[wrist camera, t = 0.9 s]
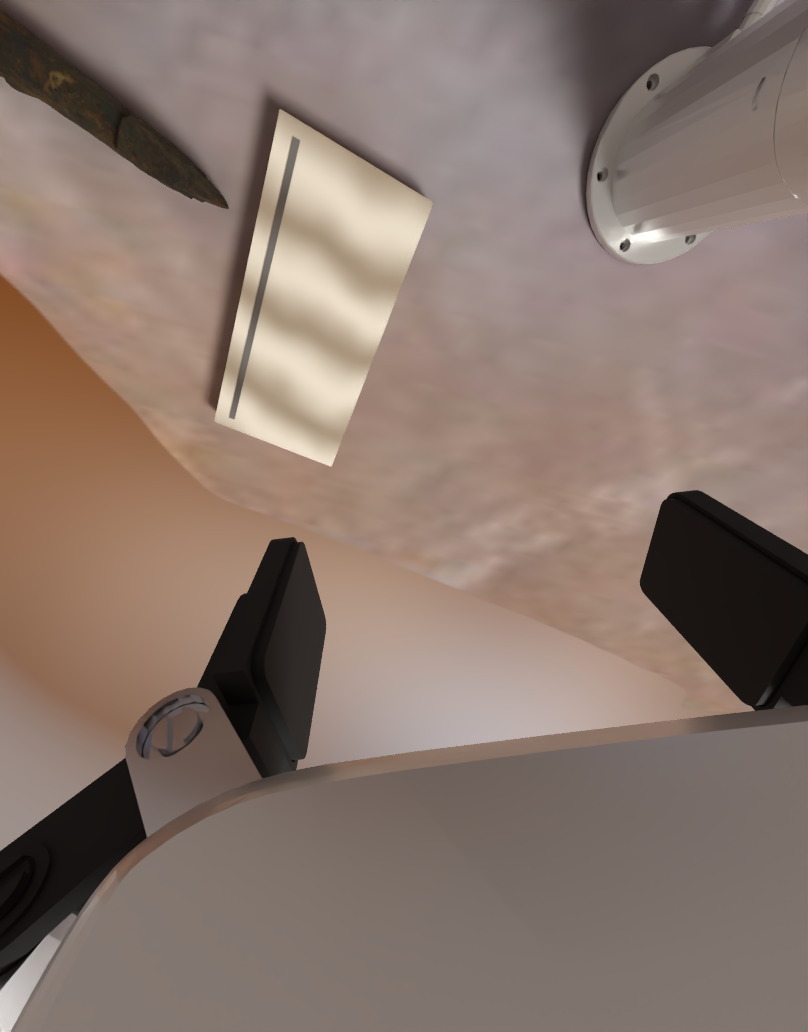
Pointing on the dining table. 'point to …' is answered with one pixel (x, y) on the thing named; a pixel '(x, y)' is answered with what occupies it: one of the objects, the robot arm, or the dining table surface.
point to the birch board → (316, 291)
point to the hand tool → (96, 111)
